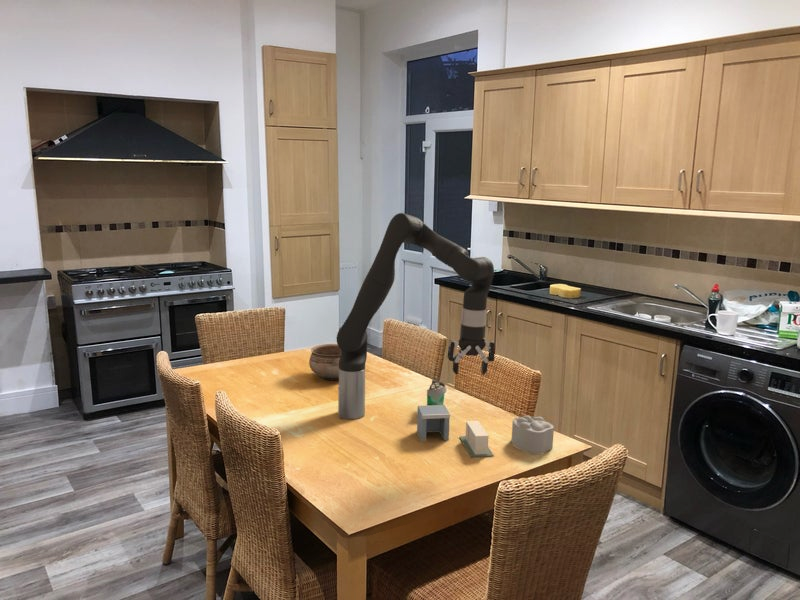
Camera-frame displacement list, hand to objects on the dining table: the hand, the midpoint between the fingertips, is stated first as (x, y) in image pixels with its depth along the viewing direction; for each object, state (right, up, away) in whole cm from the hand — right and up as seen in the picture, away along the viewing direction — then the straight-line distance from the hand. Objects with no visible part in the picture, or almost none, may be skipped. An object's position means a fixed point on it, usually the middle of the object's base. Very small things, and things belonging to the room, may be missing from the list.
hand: (469, 373), depth 197 cm
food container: (-8, -18, +34) cm, 39 cm away
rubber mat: (+3, -24, +5) cm, 24 cm away
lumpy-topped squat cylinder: (+20, -24, +7) cm, 32 cm away
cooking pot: (-50, -10, +69) cm, 86 cm away
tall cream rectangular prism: (+3, -23, +4) cm, 24 cm away
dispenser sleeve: (-11, -22, +13) cm, 27 cm away
